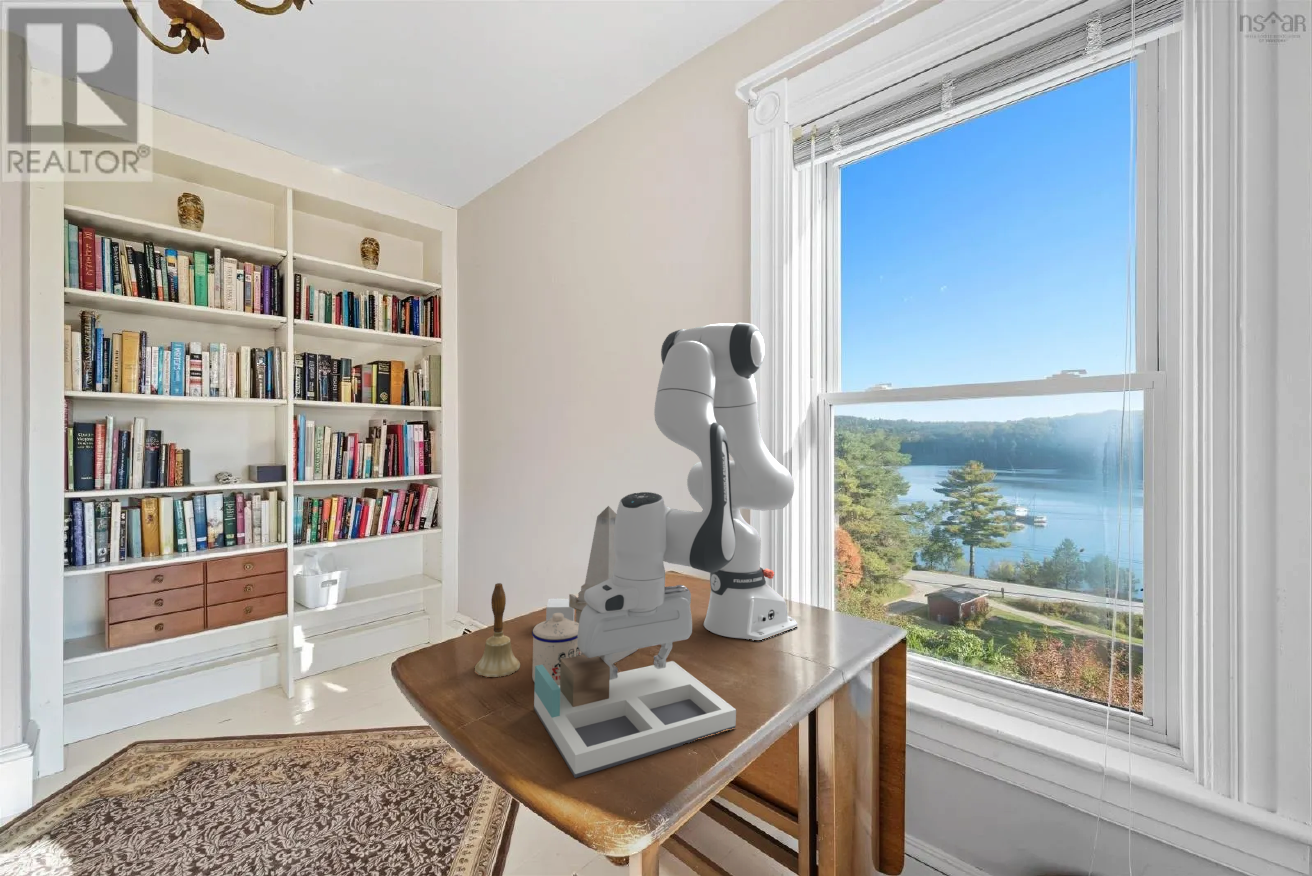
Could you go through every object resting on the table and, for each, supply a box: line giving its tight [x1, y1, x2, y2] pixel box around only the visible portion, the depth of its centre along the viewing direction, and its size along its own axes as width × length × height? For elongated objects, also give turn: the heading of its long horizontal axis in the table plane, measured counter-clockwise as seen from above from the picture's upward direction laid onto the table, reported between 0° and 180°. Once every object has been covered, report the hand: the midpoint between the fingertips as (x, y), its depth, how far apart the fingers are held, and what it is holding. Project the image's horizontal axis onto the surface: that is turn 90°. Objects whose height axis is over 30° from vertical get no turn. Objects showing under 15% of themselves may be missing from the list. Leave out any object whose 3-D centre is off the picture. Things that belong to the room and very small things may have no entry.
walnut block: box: [560, 655, 610, 707], centre depth 85 cm, size 6×6×5 cm
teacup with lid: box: [531, 613, 582, 685], centre depth 98 cm, size 12×9×12 cm
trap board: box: [533, 660, 737, 779], centre depth 83 cm, size 26×19×7 cm
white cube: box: [545, 598, 575, 621], centre depth 120 cm, size 6×6×6 cm
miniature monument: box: [568, 505, 638, 665], centre depth 108 cm, size 10×10×30 cm
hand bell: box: [474, 582, 521, 678], centre depth 100 cm, size 8×8×16 cm
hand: (636, 672), depth 89 cm, fingers open, 8 cm apart
